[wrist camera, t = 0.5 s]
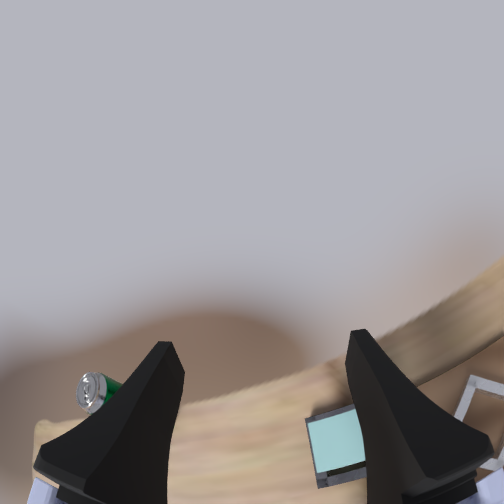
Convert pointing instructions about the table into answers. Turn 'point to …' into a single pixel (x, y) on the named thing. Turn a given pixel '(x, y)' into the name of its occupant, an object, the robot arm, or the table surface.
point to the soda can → (95, 391)
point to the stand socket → (324, 477)
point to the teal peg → (337, 441)
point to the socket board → (476, 398)
